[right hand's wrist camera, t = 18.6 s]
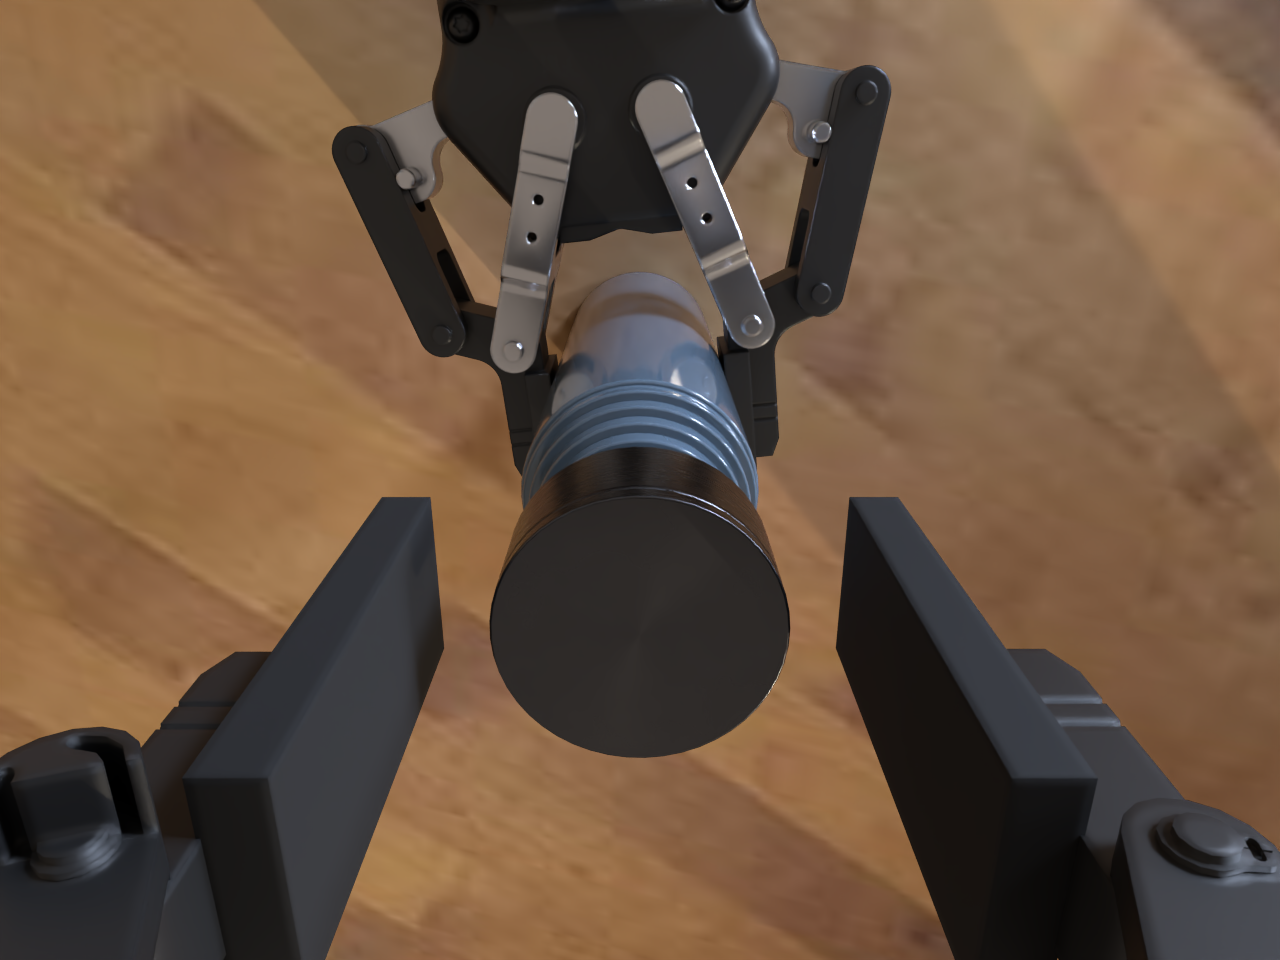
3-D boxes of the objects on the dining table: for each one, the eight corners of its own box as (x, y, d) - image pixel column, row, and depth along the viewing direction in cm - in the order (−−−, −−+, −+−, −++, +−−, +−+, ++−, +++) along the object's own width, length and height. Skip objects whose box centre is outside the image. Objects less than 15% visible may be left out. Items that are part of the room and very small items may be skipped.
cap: (808, 624, 15) (833, 697, 13) (579, 713, 16) (571, 796, 14) (709, 401, 14) (720, 446, 12) (462, 508, 14) (434, 568, 12)
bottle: (574, 407, 32) (493, 750, 14) (568, 273, 30) (466, 470, 12) (707, 405, 32) (792, 746, 14) (708, 270, 30) (807, 464, 12)
